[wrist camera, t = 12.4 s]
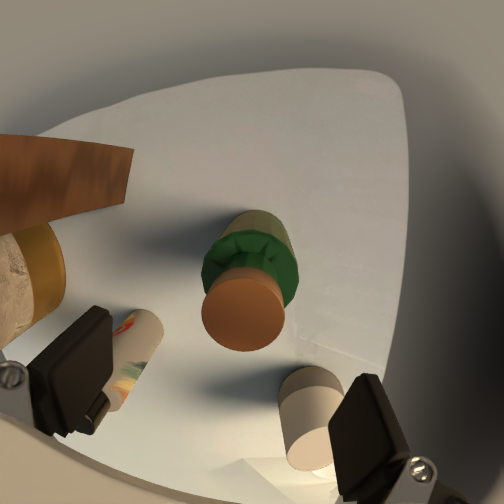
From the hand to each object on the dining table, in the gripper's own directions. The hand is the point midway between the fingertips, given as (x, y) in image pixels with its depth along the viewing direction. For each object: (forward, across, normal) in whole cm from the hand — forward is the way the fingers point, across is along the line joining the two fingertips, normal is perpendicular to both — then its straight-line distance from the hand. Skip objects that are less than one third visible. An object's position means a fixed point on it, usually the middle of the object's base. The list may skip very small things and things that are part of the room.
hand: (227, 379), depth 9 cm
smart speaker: (+25, -13, +20) cm, 34 cm away
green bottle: (+25, 0, +1) cm, 25 cm away
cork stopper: (+11, 0, +1) cm, 11 cm away
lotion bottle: (+25, +12, +17) cm, 32 cm away
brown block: (+25, +21, -3) cm, 33 cm away
